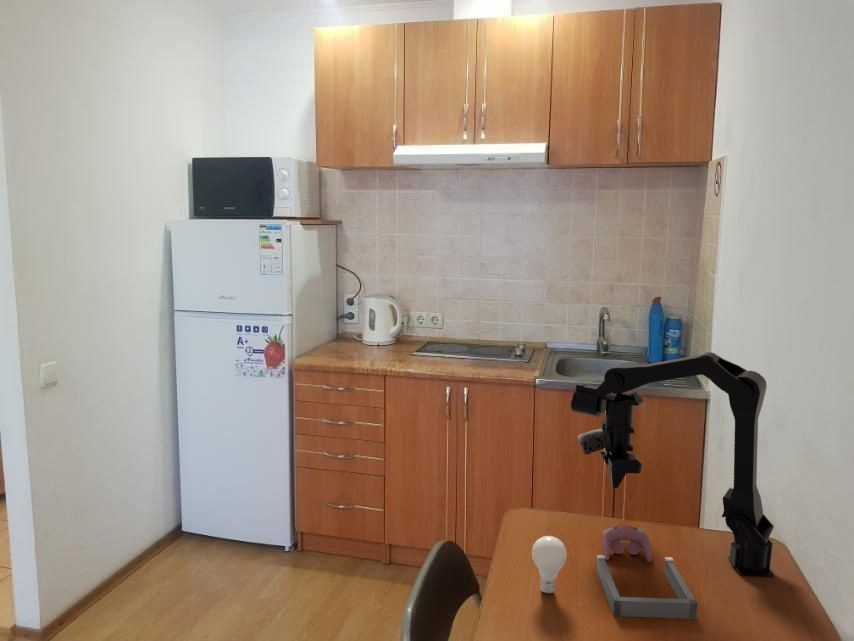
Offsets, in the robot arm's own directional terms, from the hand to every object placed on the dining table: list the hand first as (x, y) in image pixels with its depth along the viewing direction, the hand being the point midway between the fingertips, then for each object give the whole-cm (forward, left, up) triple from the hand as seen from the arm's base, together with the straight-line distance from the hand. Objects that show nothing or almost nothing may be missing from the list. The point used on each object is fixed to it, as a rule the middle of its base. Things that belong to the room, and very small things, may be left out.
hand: (614, 487), depth 149 cm
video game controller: (0, +12, -10) cm, 16 cm away
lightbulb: (+18, +27, -10) cm, 34 cm away
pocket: (0, +25, -9) cm, 27 cm away
